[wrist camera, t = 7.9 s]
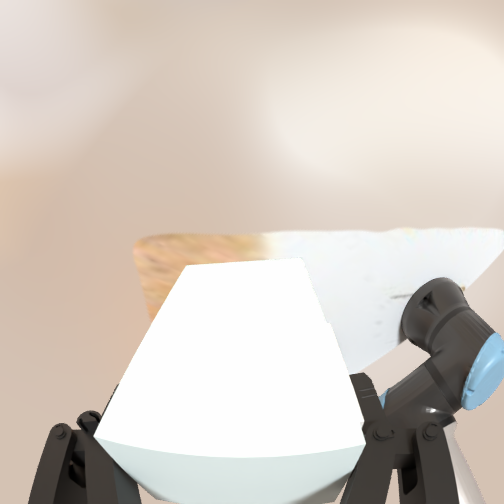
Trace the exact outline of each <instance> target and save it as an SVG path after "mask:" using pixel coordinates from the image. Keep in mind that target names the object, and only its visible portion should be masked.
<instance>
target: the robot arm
mask: <svg viewBox="0 0 504 504" xmlns="http://www.w3.org/2000/svg"><path fill="white" fill-rule="evenodd" d="M327 326H328V329H329V331H330V334H331V337H332V340H333V343H334V346H335V348H336V351H337V354H338V357H339V360H340V363H341V366H342V369H343V372H344V375H345V378H346V381H347V384H348V387H349V390H350V393H351V396H352V400H353V403H354V406H355V409H356V412H357V416H358V419H359V422H360V425H361V429H362V432H363V435H364V439H365V442H366V445H365V447H364V449H363V451H362V453H361V455H360V457H359V459H358V461H357V463H356V465H355V467H354V469H353V471H352V472H351V474H350V476H349V478H348V481H347V484H346V487H345V490H344V493H343V496H342V499H341V502H340V504H385V502H386V497H387V493H388V489H389V484H390V480H391V475H392V469H397V473H398V484H399V497H400V504H486V503H485V501H484V498H483V497H482V494H481V491H480V489H479V487H478V485H477V482H476V480H475V478H474V476H473V474H472V472H471V469H470V467H469V465H468V463H467V461H466V459H465V457H464V455H463V453H462V451H461V449H460V447H459V445H458V443H457V441H456V440H455V438H454V432H455V429H456V426H457V422H456V420H455V418H454V416H453V414H454V413H456V412H457V411H458V410H459V409H461V408H462V407H463V408H464V409H466V410H473V409H475V408H476V407H477V406H479V405H481V404H482V403H484V402H485V401H486V400H487V399H488V398H489V397H490V396H491V395H492V393H493V392H494V391H495V390H496V389H497V387H498V386H499V384H500V382H501V381H502V379H503V378H504V341H503V340H502V339H501V336H500V335H499V334H498V333H496V332H495V331H494V330H493V329H492V328H491V327H490V326H489V325H488V324H487V323H486V322H485V321H484V320H483V319H482V318H481V317H480V316H478V315H477V314H476V313H475V312H474V311H473V310H472V309H471V308H470V307H469V305H468V303H467V301H466V300H465V297H464V295H463V292H462V290H461V288H460V287H459V286H458V285H457V284H456V283H455V282H453V281H452V280H451V279H448V278H436V279H433V280H431V281H429V282H427V283H426V284H424V285H423V286H422V287H421V288H419V289H418V290H417V291H416V293H415V294H414V295H413V296H412V298H411V299H410V300H409V302H408V304H407V306H406V308H405V310H404V313H403V317H402V329H403V332H404V334H405V335H406V337H407V338H408V339H409V341H410V342H411V343H413V344H414V345H416V346H418V347H419V348H421V349H423V350H424V351H426V352H428V353H429V354H430V356H431V357H430V358H429V359H428V360H426V361H425V362H424V363H423V364H421V365H420V366H419V367H418V368H417V369H415V370H414V371H413V372H412V373H410V374H409V375H408V376H406V377H405V378H404V379H403V380H401V381H400V382H398V383H397V384H396V385H394V386H393V387H391V388H388V389H387V390H386V391H385V393H383V394H382V395H381V396H379V397H378V396H377V393H376V390H375V389H374V385H373V383H372V380H371V379H370V378H369V377H368V376H367V375H366V374H365V373H358V374H352V375H349V374H348V371H347V368H346V365H345V362H344V360H343V357H342V354H341V351H340V349H339V346H338V343H337V340H336V338H335V335H334V332H333V330H332V327H331V324H330V323H328V324H327ZM118 385H119V384H118ZM118 385H117V386H116V388H115V390H114V392H113V395H114V393H115V391H116V389H117V387H118ZM113 395H112V396H111V398H110V400H109V402H108V404H107V406H106V408H105V410H104V412H103V414H102V416H101V415H100V414H99V413H98V412H96V411H86V412H84V413H82V414H81V415H80V416H79V417H78V419H77V422H76V423H77V424H78V425H79V427H80V428H81V429H82V430H72V429H71V428H70V427H69V426H68V425H67V424H64V423H59V424H57V425H55V426H54V427H52V429H51V431H50V433H49V436H48V438H47V441H46V444H45V447H44V450H43V453H42V456H41V459H40V462H39V465H38V468H37V472H36V475H35V479H34V483H33V486H32V490H31V493H30V497H29V502H28V504H142V503H141V499H140V494H139V489H138V485H137V482H136V481H135V480H134V479H133V478H132V477H131V476H130V475H129V474H127V473H126V472H125V471H124V470H123V469H122V468H121V467H120V465H119V464H118V463H117V462H116V461H115V460H114V459H113V458H112V457H111V456H110V455H109V454H108V453H107V452H106V450H105V449H104V448H103V447H102V446H101V445H100V444H99V442H98V441H97V440H96V439H95V438H94V434H95V432H96V430H97V428H98V426H99V424H100V421H101V419H102V417H103V415H104V413H105V411H106V409H107V407H108V405H109V403H110V401H111V399H112V397H113Z"/></svg>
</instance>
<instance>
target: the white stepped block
mask: <svg viewBox="0 0 504 504" xmlns="http://www.w3.org/2000/svg"><path fill="white" fill-rule="evenodd" d="M94 438H95V439H96V440H97V441H98V442H99V444H100V445H101V446H102V447H103V448H104V449H105V450H106V452H107V453H108V454H109V455H110V456H111V457H112V458H113V459H114V460H115V461H116V462H117V463H118V464H119V465H120V467H121V468H122V469H123V470H124V471H125V472H126V473H127V474H129V475H130V476H131V477H132V478H133V479H134V480H135V481H136V482H137V483H138V484H139V485H140V486H141V487H142V488H144V489H145V490H146V491H147V492H148V493H149V494H150V495H151V496H153V497H154V498H155V499H158V500H163V501H168V502H175V503H181V504H323V503H330V502H334V501H335V500H336V498H337V496H338V495H339V493H340V492H341V490H342V488H343V487H344V485H345V483H346V481H347V480H348V478H349V476H350V474H351V472H352V471H353V469H354V467H355V465H356V463H357V461H358V459H359V457H360V455H361V453H362V451H363V449H364V447H365V445H366V442H365V439H364V435H363V432H362V429H361V425H360V422H359V419H358V416H357V412H356V409H355V406H354V403H353V400H352V396H351V393H350V390H349V387H348V384H347V381H346V378H345V375H344V372H343V369H342V366H341V363H340V360H339V357H338V354H337V351H336V348H335V346H334V343H333V340H332V337H331V334H330V331H329V329H328V326H327V323H326V320H325V318H324V315H323V312H322V309H321V307H320V304H319V301H318V299H317V296H316V293H315V291H314V288H313V285H312V283H311V280H310V278H309V275H308V272H307V270H306V267H305V265H304V262H303V260H302V258H289V259H275V260H261V261H246V262H231V263H216V264H200V265H186V267H185V268H184V270H183V272H182V273H181V275H180V277H179V278H178V280H177V282H176V283H175V285H174V287H173V288H172V290H171V292H170V293H169V295H168V297H167V298H166V300H165V302H164V304H163V305H162V307H161V309H160V310H159V312H158V314H157V316H156V317H155V319H154V321H153V323H152V324H151V326H150V328H149V330H148V332H147V334H146V335H145V337H144V339H143V341H142V342H141V344H140V346H139V348H138V350H137V351H136V353H135V355H134V357H133V359H132V361H131V363H130V365H129V366H128V368H127V370H126V372H125V374H124V376H123V378H122V380H121V382H120V383H119V385H118V387H117V389H116V391H115V393H114V395H113V397H112V399H111V401H110V403H109V405H108V407H107V409H106V411H105V413H104V415H103V417H102V419H101V421H100V424H99V426H98V428H97V430H96V432H95V434H94Z"/></svg>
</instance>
